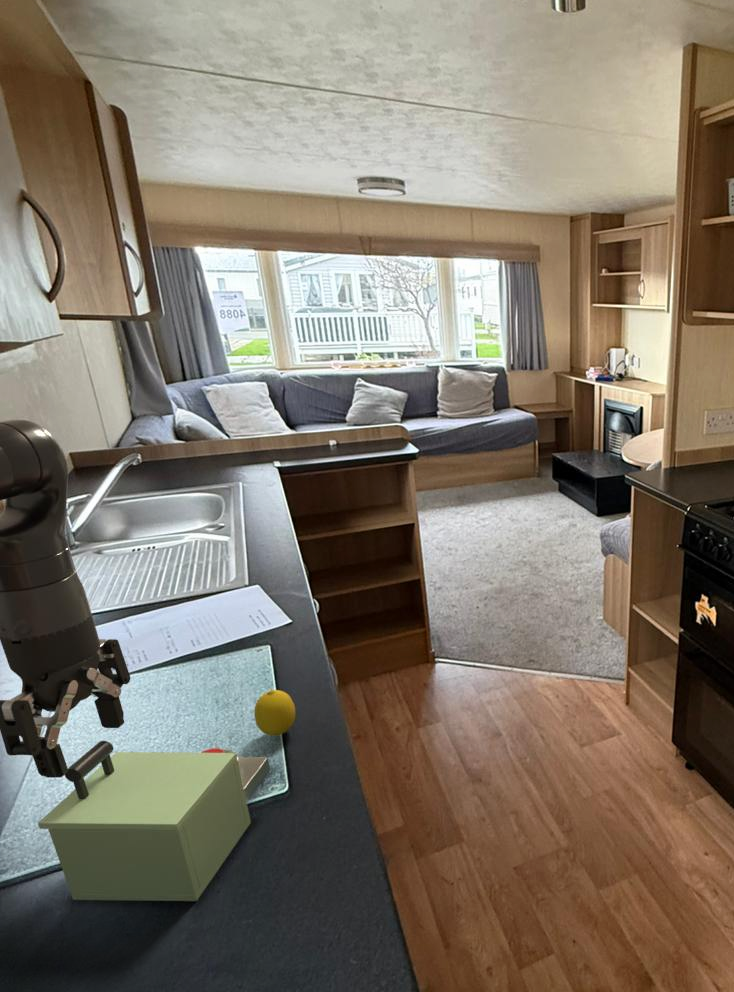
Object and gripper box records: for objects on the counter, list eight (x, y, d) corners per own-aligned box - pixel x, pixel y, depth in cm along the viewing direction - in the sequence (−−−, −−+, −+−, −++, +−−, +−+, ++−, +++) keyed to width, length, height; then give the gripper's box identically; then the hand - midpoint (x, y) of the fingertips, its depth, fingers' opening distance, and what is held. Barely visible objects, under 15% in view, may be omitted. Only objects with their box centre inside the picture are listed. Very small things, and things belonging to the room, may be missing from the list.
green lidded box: (72, 900, 72) (47, 829, 69) (143, 821, 83) (125, 757, 80) (196, 901, 72) (177, 830, 69) (251, 822, 83) (237, 758, 80)
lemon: (261, 751, 97) (252, 705, 94) (257, 731, 101) (248, 687, 98) (301, 739, 99) (293, 694, 97) (296, 720, 104) (288, 677, 101)
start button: (190, 776, 86) (187, 765, 85) (205, 758, 89) (203, 747, 89) (217, 776, 86) (214, 765, 85) (231, 758, 89) (229, 748, 89)
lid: (39, 829, 69) (25, 790, 67) (117, 757, 80) (107, 722, 78) (177, 830, 69) (167, 792, 67) (237, 758, 80) (229, 723, 78)
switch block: (157, 809, 85) (150, 784, 84) (193, 769, 93) (187, 745, 91) (241, 810, 85) (235, 785, 84) (270, 769, 93) (265, 746, 91)
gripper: (63, 590, 74) (99, 712, 79) (-58, 652, 60) (-4, 794, 66) (128, 590, 74) (161, 712, 79) (23, 652, 60) (70, 794, 66)
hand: (86, 749), depth 72 cm, fingers open, 8 cm apart
